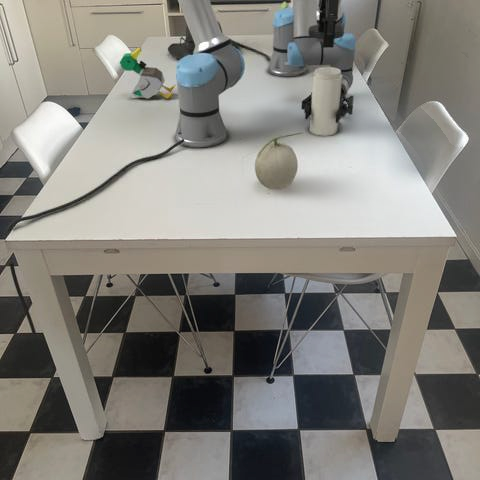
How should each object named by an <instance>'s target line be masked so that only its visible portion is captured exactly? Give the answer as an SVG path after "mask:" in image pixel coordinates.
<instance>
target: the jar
mask: <svg viewBox="0 0 480 480" xmlns="http://www.w3.org/2000/svg"><path fill="white" fill-rule="evenodd" d="M311 84H312V86H311V92H312V100H311V115H310V116H309V118H310V120H309V132H310V133H311V134H313V135H316V136H322V137H323V136H324V137H325V136H332V135H335V134H336V133H337V132H338V127H339V122H338V123H336V114H337V112H338V110H339V105H340V95H341V84H342V75H341V70H340V69H338V68H334V67H330V66H322V67H321V66H320V67H318V68H316V69H314V73H313V74H312V83H311Z"/></svg>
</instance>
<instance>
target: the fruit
mask: <svg viewBox="0 0 480 480" xmlns="http://www.w3.org/2000/svg"><path fill="white" fill-rule="evenodd" d="M301 134H304V131H300V132H295V133H289V134H283V135H282V134H281V135H278V136H274V137H273V138H271V139H270V140H269V141H268V142H266V144H265V145H264V146H262V147H261V148H260V150H259V151H258V153H257V154H256V158H255V159H254V160H255V161H254V171H255V175H256V179H257V180H258V182H259V183H260V184H261V185H262V186H264V187H265V188H267V189H268V190H274V191H276V190H282V189H285V188H287V187H288V186H290V185H291V184H292V182H293V181H294V180H295V178H296V176H297V173H298V167H299V166H298V158H297V155H296V153H295V150H294V149H293V148H292V147H291V146H290V145H288V144H286V143H284V142H281V141H280V142H279V140H281V139H283V138H287V137H293V136H296V135H301Z"/></svg>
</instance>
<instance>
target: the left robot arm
mask: <svg viewBox="0 0 480 480" xmlns="http://www.w3.org/2000/svg"><path fill="white" fill-rule="evenodd" d="M338 1H339V0H319V5H318V6H319V7H320V8H319V10H320V11H321V12H319V25H320V24H324V35H323V48H333V46H334V35H335V24H336V20H337V19H338ZM177 2H178V4H179V7H180V10H181V12H182V15H183V17H184V20H185V22H186V26H187V25H188V27H189V30H190V32H191V35H192V38H193V40H194V43H195V49H194V52H193V55H188V56H185V57H183V58H182V59H181V60H180V59H178V61H177V63H176V67H175V71H176V73H175V80H176V86H177V96H178V97H177V98H178V106H179V116H178V121H177V125H176V130H175V140H176V142H175V143H174V144H172V145H171V146H170V147H168V148H167V149H166V150H164V151H162V152H160V153H158V154H154V155H150V156H146V157H142V158H141V157H140V158H137V159H136V160H134V161H131V162H129V163H128V164H126V165H124V167H122V168H121V169H120V170H118V171H117V172H116V173H114V174H112V176H110V177H109V178H107V179H106V180H105V181H104V182H103V183H101V184H99V185H98V186H96V187H95V188H93V189H92V190H89V192H87V193H85V194H83V195H81V196H79V197H77V198H75V199H73V200H71V201H69V202H66V203H64V204H62V205H58V206H56V207H53V208H50V209H47V210H46V209H45V210H44V211H41V212H39V213H36V214H32V215H27V216H22V217H19V218H17V219H14V220H13V221H12V222H11V223H10V224H9V225H7V228H6V232H10V231H12V229H13V227H14V226H15V225H17V224H18V223H21V222H24V221H29V220H35V219H37V218H40V217H42V216H45V215H49V214H51V213H54V212H57V211H60V210H63V209H66V208H69V207H71V206H73V205H75V204H78V203H80V202H81V201H84V200H85V199H87V198H88V197H90V196H92V195H94V194H95V193H97V192H98V191H100V190H101V189H103V188H104V187H106V186H107V185H108V184H110V183H111V182H112V181H114V180H115V179H116V178H117V177H119V176H120V175H122V173H124V172H125V171H126V170H128V169H129V168H130V167H132V166H135V165H137V164H138V163H142V162H145V161H150V160H154V159H158V158H161V157H163V156H165V155H166V154H168V153H170V152H171V151H173V150H174V149H175V148H177V147H178V146H180V145H182V146H184V147H188V148H197V149H199V148H200V149H201V148H211V147H214V146H217V145H219V144H222V143H223V142H224V141H225V140H226V139H227V128H226V126H225V123H224V120H223V117H222V115H221V112H220V95H221V94H222V93H224V92H225V91H227V90H229V89H230V88H233V87H234V86H236V85H237V84H238V82H239V81H240V80H242V78H243V75H244V73H245V68H246V65H245V58H244V55H243V54H242V52H241V51H240V49H236V48H235V47H234V46H232V45H231V43H232V42H231V41H230V39H231V38H230V37H228V36H227V35H225V34H222V33H223V32H222V33H221V30H220V27H219V25H218V22H219V21H218V19H217V17H216V14H215V11H214V8H213V6H212V3H211V0H177ZM330 14H333V15H330ZM217 21H218V22H217ZM9 268H10V271H11V277H12V280H13V284H14V287H15V290H16V293H17V295H18V298H19V301H20V303H21V305H22V308H23V311H24V313H25V316H26V318H27V321H28V325H29V328H30V330H31V333H32V335H35V334H36V333H37V331H36V327H35V325H34V321H33V319H32V316H31V314H30V311H29V308H28V306H27V304H26V301H25V298H24V295H23V293H22V290H21V287H20V284H19V280H18V277H17V272H16V269H15V268H16V267H15V263H14V262H12V263H11V262H10V263H9Z"/></svg>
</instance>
